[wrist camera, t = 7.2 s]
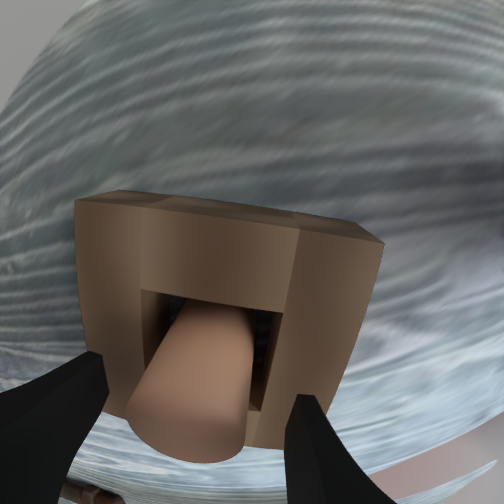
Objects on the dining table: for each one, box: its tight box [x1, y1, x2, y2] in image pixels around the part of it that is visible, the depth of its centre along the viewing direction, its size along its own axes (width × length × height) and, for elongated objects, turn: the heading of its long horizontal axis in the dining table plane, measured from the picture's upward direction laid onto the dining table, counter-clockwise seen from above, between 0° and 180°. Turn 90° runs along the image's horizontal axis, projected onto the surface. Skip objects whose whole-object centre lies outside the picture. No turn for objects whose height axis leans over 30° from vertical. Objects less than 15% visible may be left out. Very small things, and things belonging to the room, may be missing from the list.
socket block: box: [74, 190, 385, 450], centre depth 14 cm, size 12×12×4 cm
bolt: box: [59, 481, 126, 504], centre depth 24 cm, size 6×5×15 cm
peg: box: [125, 298, 257, 463], centre depth 12 cm, size 4×4×8 cm
